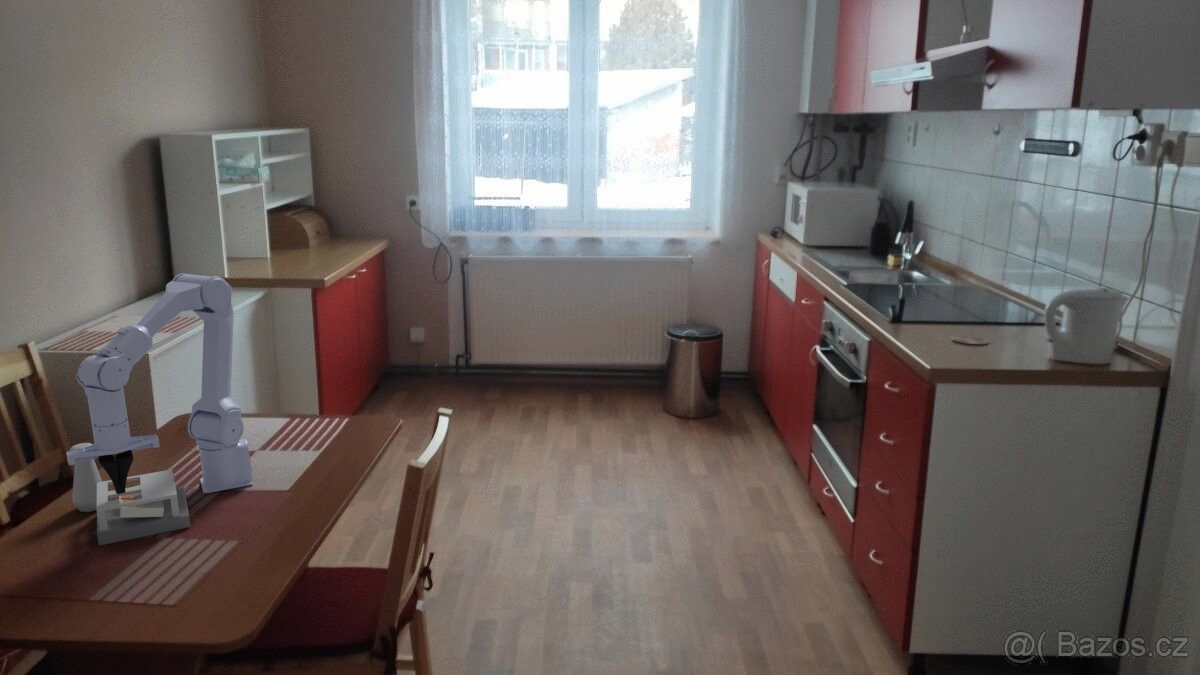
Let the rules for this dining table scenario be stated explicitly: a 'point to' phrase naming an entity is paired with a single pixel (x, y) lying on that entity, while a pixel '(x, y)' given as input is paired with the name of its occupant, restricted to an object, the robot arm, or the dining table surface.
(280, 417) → the dining table surface
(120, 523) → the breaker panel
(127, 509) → the rocker near
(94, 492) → the salt shaker
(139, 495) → the rocker far
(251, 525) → the dining table surface
